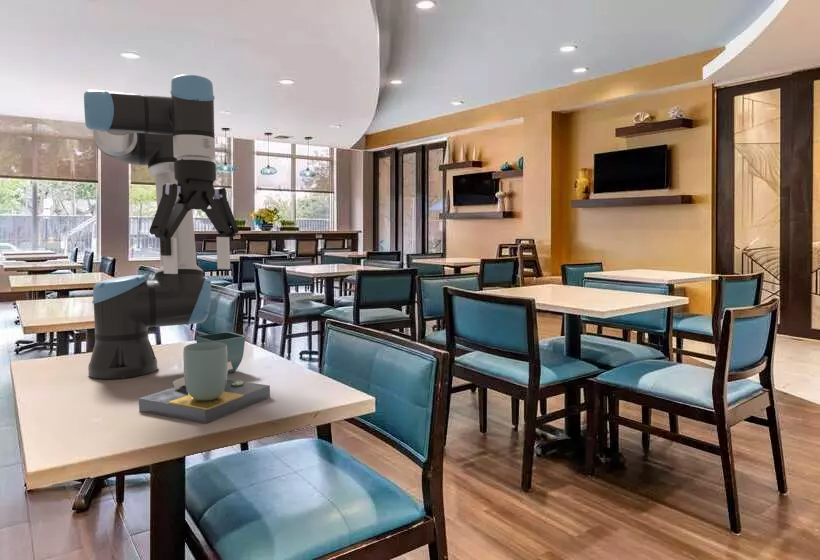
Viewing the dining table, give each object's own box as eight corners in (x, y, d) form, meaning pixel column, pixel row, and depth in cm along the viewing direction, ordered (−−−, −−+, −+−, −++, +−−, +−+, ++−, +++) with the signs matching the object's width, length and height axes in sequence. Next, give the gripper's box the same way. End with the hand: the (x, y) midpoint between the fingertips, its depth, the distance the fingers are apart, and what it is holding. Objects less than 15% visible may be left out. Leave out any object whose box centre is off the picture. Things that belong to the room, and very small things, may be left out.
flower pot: (247, 371, 142) (246, 335, 141) (213, 378, 136) (212, 340, 135) (228, 366, 148) (227, 331, 147) (196, 372, 142) (194, 336, 141)
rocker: (175, 389, 117) (172, 380, 117) (187, 385, 120) (184, 377, 120) (198, 379, 114) (195, 371, 114) (210, 375, 117) (207, 367, 117)
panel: (139, 411, 112) (138, 394, 111) (208, 387, 128) (207, 373, 127) (206, 423, 104) (206, 406, 104) (271, 397, 120) (270, 381, 120)
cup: (192, 391, 114) (190, 341, 113) (232, 391, 115) (231, 342, 113) (178, 404, 106) (177, 350, 105) (222, 404, 107) (221, 350, 106)
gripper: (155, 151, 98) (160, 276, 100) (254, 165, 120) (256, 267, 122) (124, 154, 101) (130, 275, 103) (226, 167, 124) (229, 266, 126)
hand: (198, 271), depth 113 cm, fingers open, 13 cm apart
